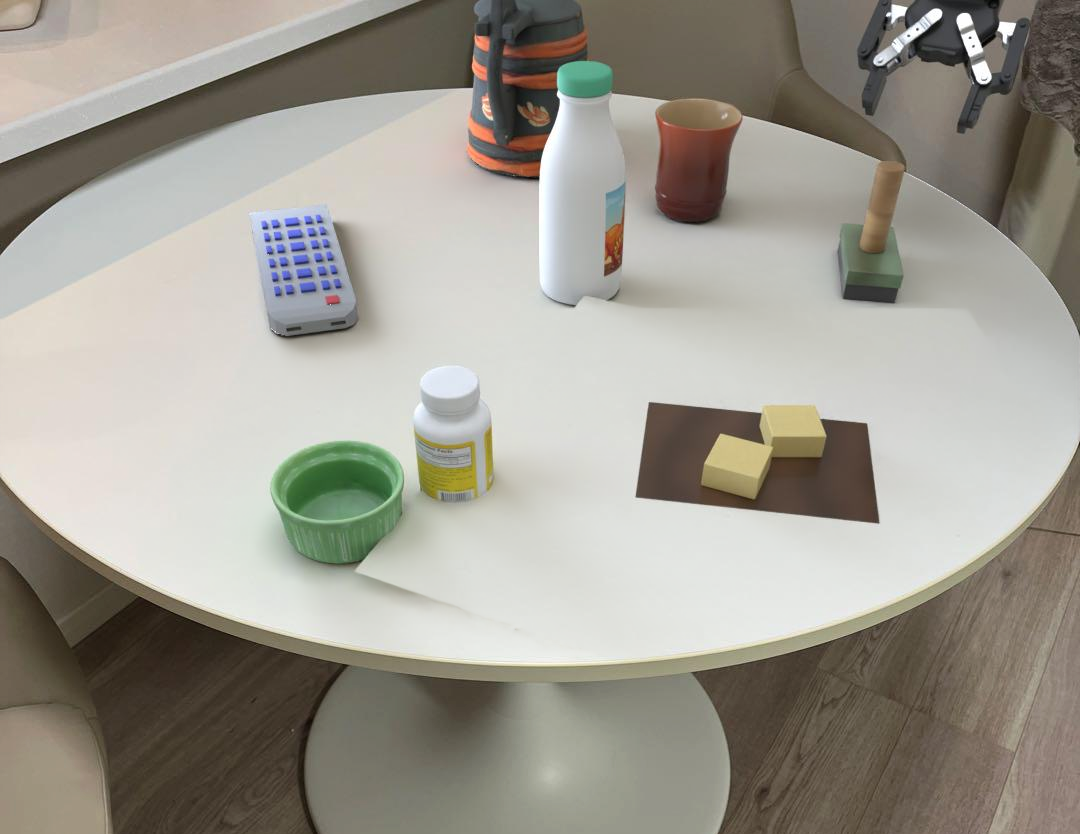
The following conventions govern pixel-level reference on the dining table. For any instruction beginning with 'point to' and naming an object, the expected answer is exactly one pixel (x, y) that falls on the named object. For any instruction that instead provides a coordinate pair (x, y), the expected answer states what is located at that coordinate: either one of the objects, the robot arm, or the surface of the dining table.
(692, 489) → the tray
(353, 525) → the ramekin
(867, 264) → the brush
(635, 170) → the dining table surface
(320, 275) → the remote control
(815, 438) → the crumb
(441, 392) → the supplement bottle
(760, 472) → the crumb
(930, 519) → the dining table surface
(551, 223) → the milk bottle
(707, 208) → the mug
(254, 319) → the dining table surface
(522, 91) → the beer stein
